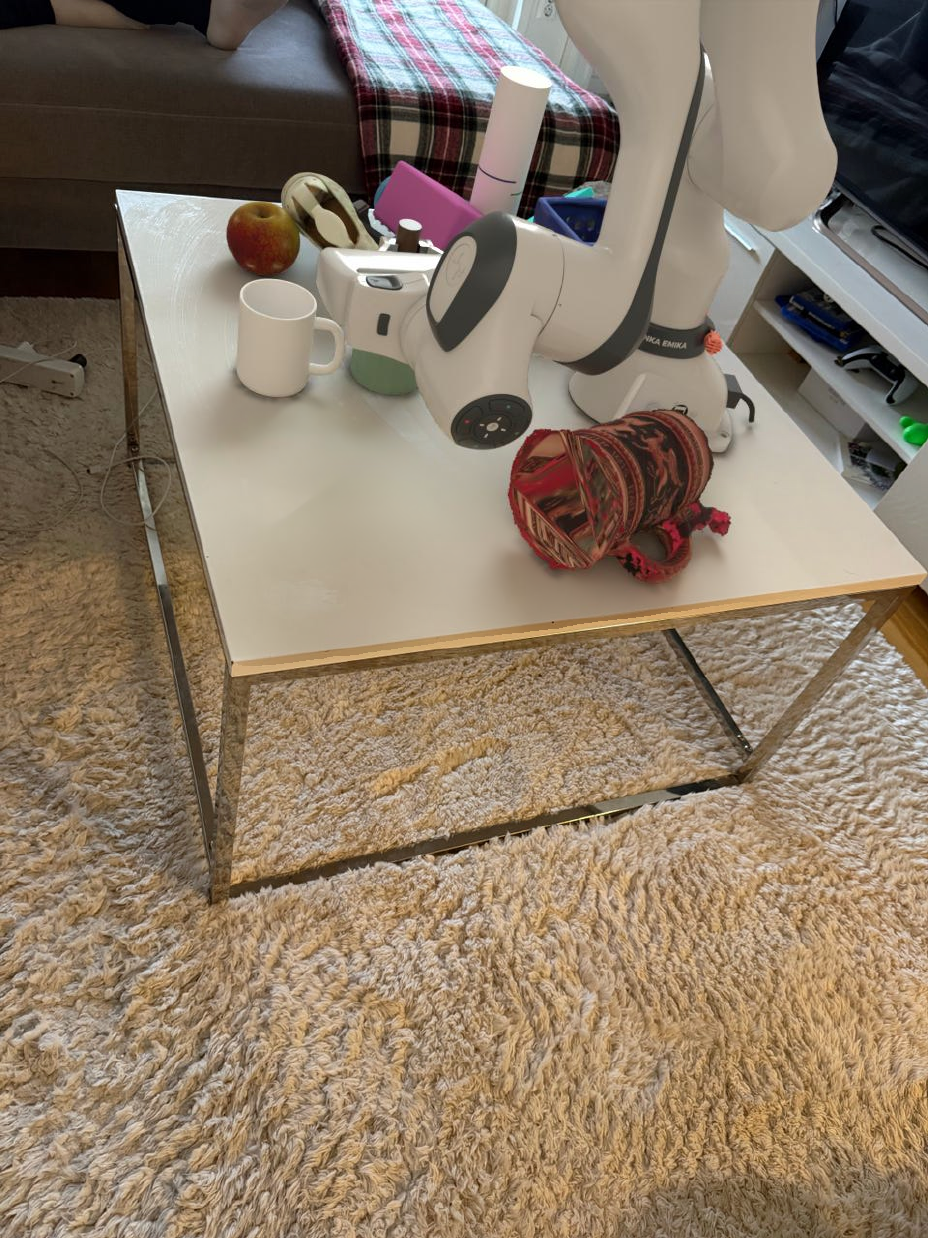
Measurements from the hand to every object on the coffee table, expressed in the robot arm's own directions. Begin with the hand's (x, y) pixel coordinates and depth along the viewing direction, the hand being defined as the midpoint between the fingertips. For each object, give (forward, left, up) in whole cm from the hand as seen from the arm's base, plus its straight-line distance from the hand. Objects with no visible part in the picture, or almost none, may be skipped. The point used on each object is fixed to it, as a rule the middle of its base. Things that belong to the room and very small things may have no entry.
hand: (403, 244), depth 91 cm
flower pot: (-26, -38, -20) cm, 50 cm away
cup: (+10, -1, -20) cm, 22 cm away
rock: (-34, -56, -21) cm, 69 cm away
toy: (0, -31, -10) cm, 33 cm away
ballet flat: (+9, -29, -14) cm, 33 cm away
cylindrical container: (-12, -45, -20) cm, 50 cm away
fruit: (+18, -25, -20) cm, 37 cm away
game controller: (+3, -31, -20) cm, 37 cm away
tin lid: (0, +1, -5) cm, 5 cm away
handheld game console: (-21, -51, -13) cm, 57 cm away
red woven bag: (-23, +6, -14) cm, 27 cm away
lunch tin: (-1, -7, -20) cm, 21 cm away
